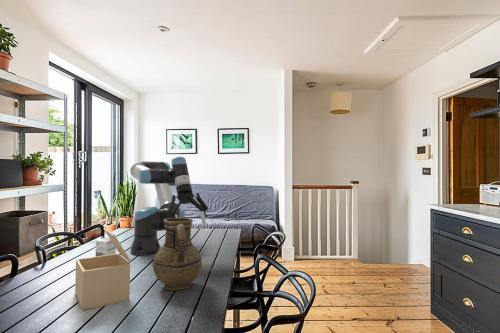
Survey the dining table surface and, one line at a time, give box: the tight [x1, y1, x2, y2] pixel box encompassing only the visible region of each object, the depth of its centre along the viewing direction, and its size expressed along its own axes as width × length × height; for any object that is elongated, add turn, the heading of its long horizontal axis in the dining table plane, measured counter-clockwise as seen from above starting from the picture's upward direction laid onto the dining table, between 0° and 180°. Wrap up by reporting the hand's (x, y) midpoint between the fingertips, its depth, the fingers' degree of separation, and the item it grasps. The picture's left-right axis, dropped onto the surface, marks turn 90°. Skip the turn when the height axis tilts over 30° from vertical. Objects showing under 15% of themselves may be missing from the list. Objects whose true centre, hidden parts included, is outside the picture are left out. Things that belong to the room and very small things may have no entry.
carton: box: [74, 253, 131, 312], centre depth 106 cm, size 16×14×12 cm
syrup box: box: [95, 237, 117, 257], centre depth 130 cm, size 6×6×14 cm
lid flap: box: [103, 227, 132, 263], centre depth 109 cm, size 15×11×1 cm
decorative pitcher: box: [152, 217, 203, 291], centre depth 117 cm, size 22×18×25 cm
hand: (191, 226), depth 149 cm, fingers open, 13 cm apart
